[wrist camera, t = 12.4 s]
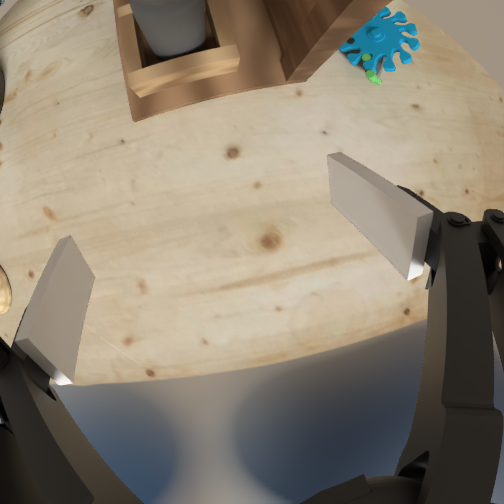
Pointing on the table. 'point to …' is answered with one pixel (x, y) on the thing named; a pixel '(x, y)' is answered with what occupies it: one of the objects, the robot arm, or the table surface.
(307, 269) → the table surface
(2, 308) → the hand bell
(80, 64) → the table surface
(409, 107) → the table surface
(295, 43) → the wooden holder stand
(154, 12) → the bottle
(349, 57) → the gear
